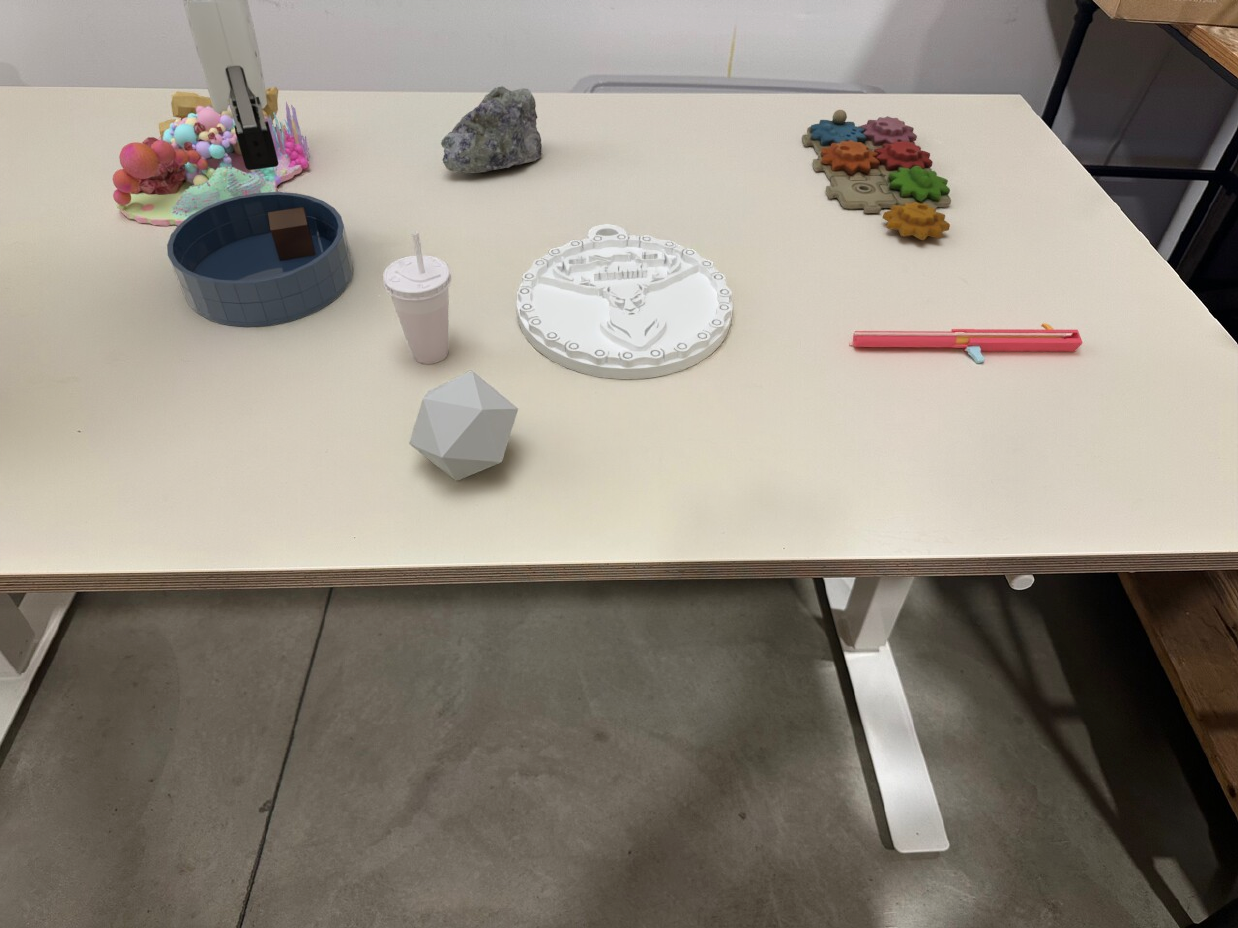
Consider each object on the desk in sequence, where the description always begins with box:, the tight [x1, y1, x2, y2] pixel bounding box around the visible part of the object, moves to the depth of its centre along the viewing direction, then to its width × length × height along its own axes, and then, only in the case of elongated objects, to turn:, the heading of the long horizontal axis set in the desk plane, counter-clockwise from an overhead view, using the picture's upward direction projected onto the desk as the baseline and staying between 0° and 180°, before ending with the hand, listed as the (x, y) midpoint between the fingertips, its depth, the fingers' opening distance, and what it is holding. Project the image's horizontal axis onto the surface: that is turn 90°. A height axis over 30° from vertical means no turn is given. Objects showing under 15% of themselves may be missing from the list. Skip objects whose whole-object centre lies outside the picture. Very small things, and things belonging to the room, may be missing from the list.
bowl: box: [166, 191, 354, 328], centre depth 95 cm, size 18×18×6 cm
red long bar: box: [848, 322, 1084, 364], centre depth 91 cm, size 24×2×5 cm
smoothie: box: [382, 231, 452, 365], centre depth 84 cm, size 6×6×14 cm
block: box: [268, 207, 315, 261], centre depth 99 cm, size 4×4×4 cm
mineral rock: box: [440, 85, 543, 174], centre depth 113 cm, size 13×11×10 cm
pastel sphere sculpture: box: [112, 86, 311, 227], centre depth 110 cm, size 25×24×9 cm
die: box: [408, 369, 519, 482], centre depth 76 cm, size 8×9×10 cm
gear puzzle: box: [801, 109, 952, 241], centre depth 114 cm, size 31×16×4 cm, turn 4°
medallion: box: [516, 223, 734, 380], centre depth 95 cm, size 24×27×2 cm
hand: (262, 164), depth 88 cm, fingers closed
